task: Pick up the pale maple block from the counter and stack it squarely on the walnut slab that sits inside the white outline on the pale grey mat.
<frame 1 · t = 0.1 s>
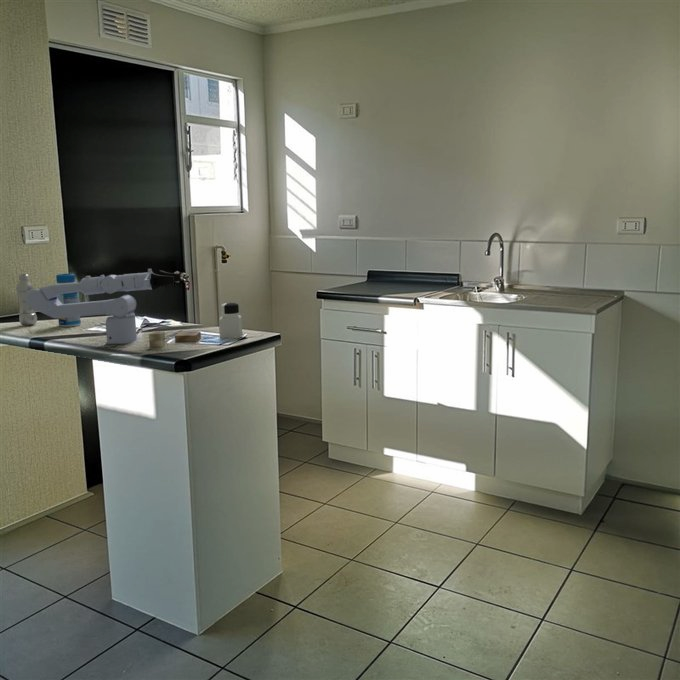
hand: (177, 278, 241), 22 cm above the worktop, tool horizontal, fingers open, 7 cm apart
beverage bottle: (70, 325, 281), on the worktop
walnut slab: (188, 340, 243), point 1 cm above the worktop, touching mat
medicine bottle: (231, 337, 251), on the worktop
maple block: (157, 347, 236), on the worktop
mat: (186, 342, 244), on the worktop
plastic bottle: (28, 325, 283), on the worktop
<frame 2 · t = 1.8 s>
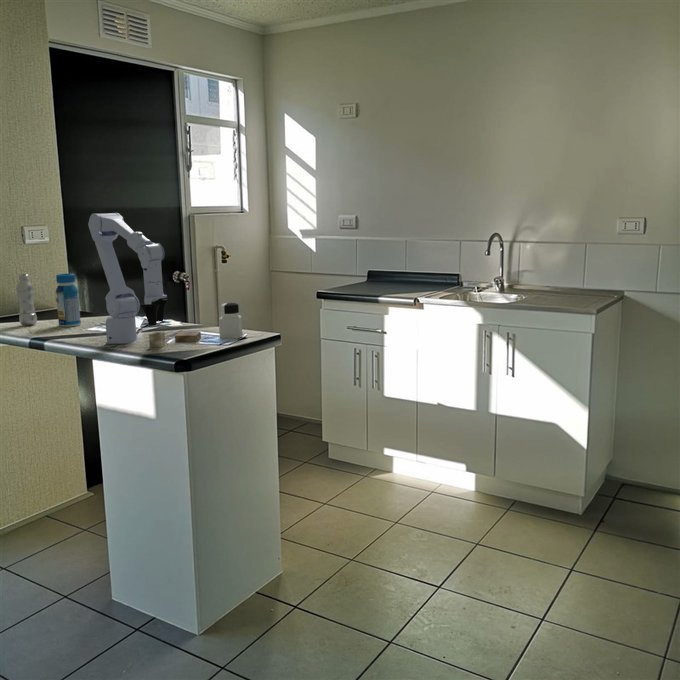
hand: (156, 323, 234), 8 cm above the worktop, tool pointing down, fingers open, 7 cm apart
nothing on the worktop moved.
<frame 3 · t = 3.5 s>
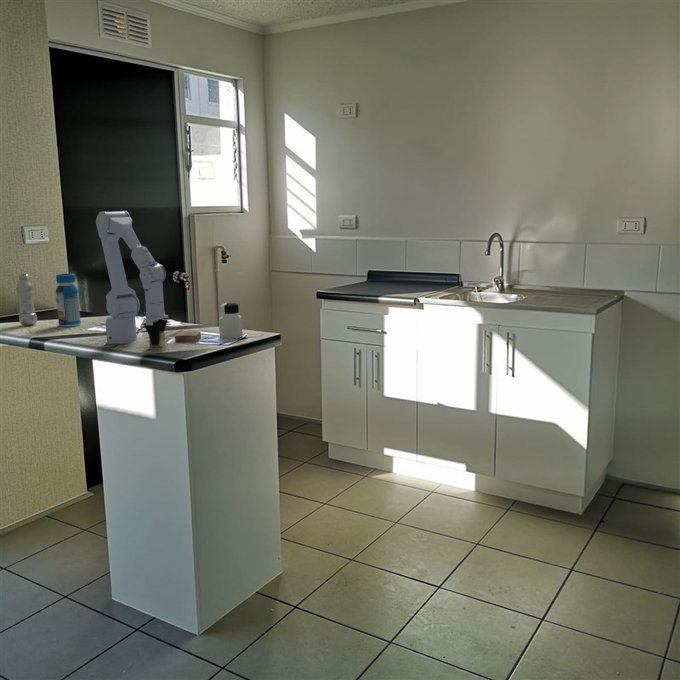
hand: (157, 343, 235), 1 cm above the worktop, tool pointing down, fingers closed on maple block, 4 cm apart
maple block: (157, 347, 236), on the worktop, touching gripper
everything else where it was.
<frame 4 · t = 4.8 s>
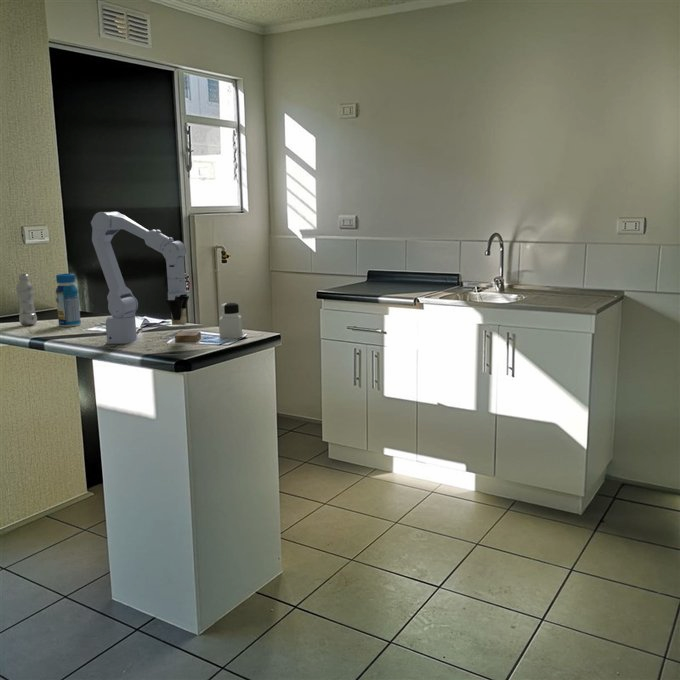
hand: (178, 318, 240), 8 cm above the worktop, tool pointing down, fingers closed on maple block, 4 cm apart
maple block: (179, 324, 240), point 7 cm above the worktop, touching gripper
everything else where it was.
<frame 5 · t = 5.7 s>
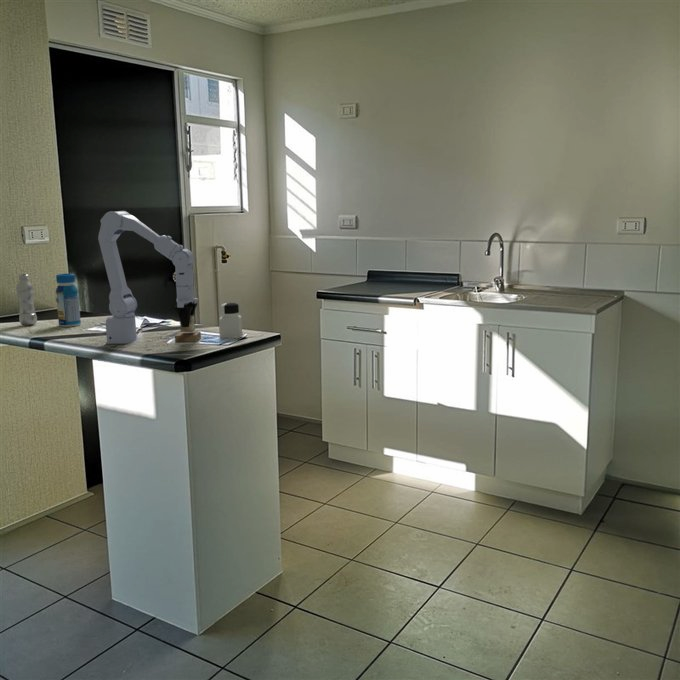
hand: (187, 325, 242), 6 cm above the worktop, tool pointing down, fingers closed on maple block, 4 cm apart
maple block: (187, 330, 243), point 4 cm above the worktop, touching gripper
everything else where it was.
when the fingers open (6 cm above the worktop, at t = 6.3 s): maple block stays where it is, resting on walnut slab.
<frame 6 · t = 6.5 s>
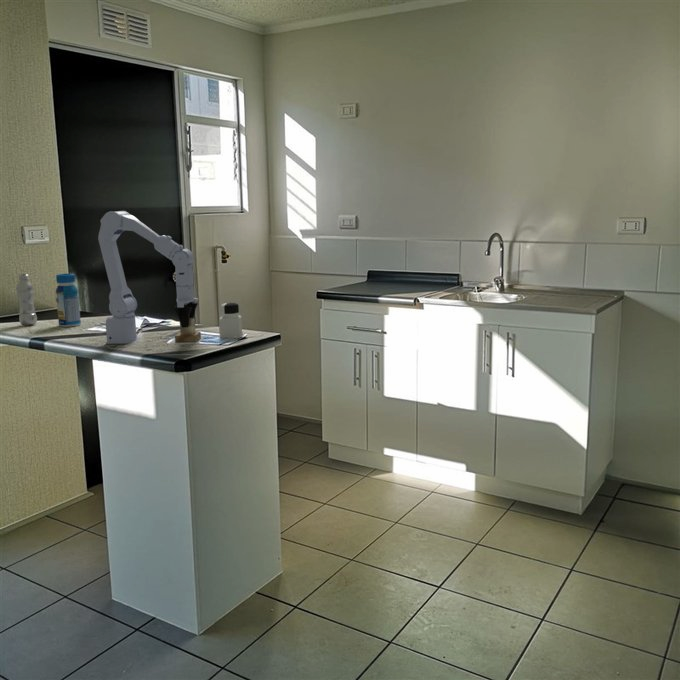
hand: (187, 325, 242), 6 cm above the worktop, tool pointing down, fingers open, 6 cm apart
walnut slab: (188, 340, 243), point 1 cm above the worktop, touching maple block, mat
maple block: (188, 333, 243), point 3 cm above the worktop, touching walnut slab
everything else where it was.
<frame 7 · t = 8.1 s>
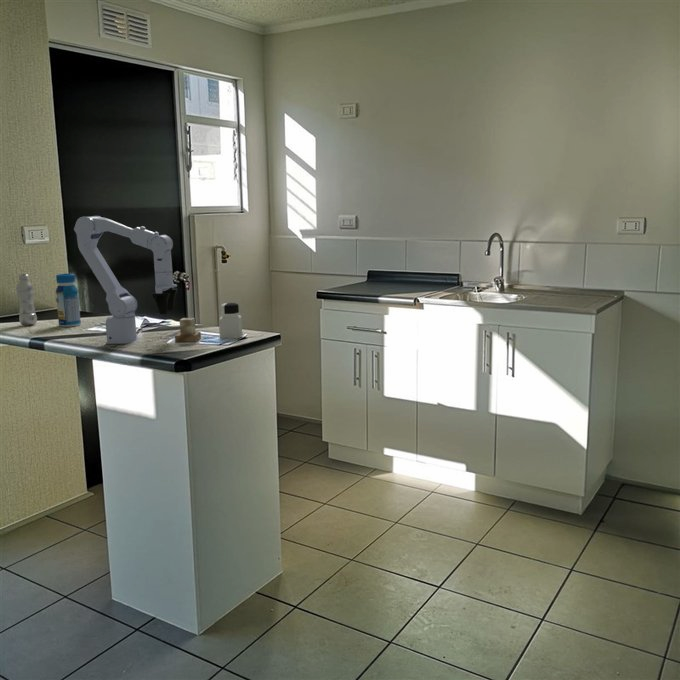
hand: (166, 312, 242), 10 cm above the worktop, tool pointing down, fingers open, 7 cm apart
nothing on the worktop moved.
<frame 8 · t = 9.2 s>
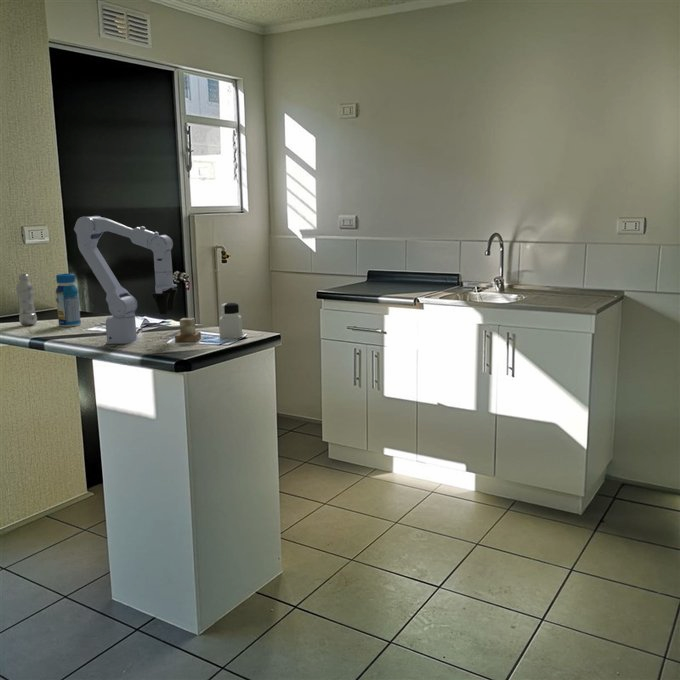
hand: (166, 312, 242), 10 cm above the worktop, tool pointing down, fingers open, 7 cm apart
nothing on the worktop moved.
at the end: maple block 0.1 cm off-centre on the walnut slab, point 2.4 cm above the walnut slab's base; maple block tilted 0°; the gripper is holding nothing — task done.
